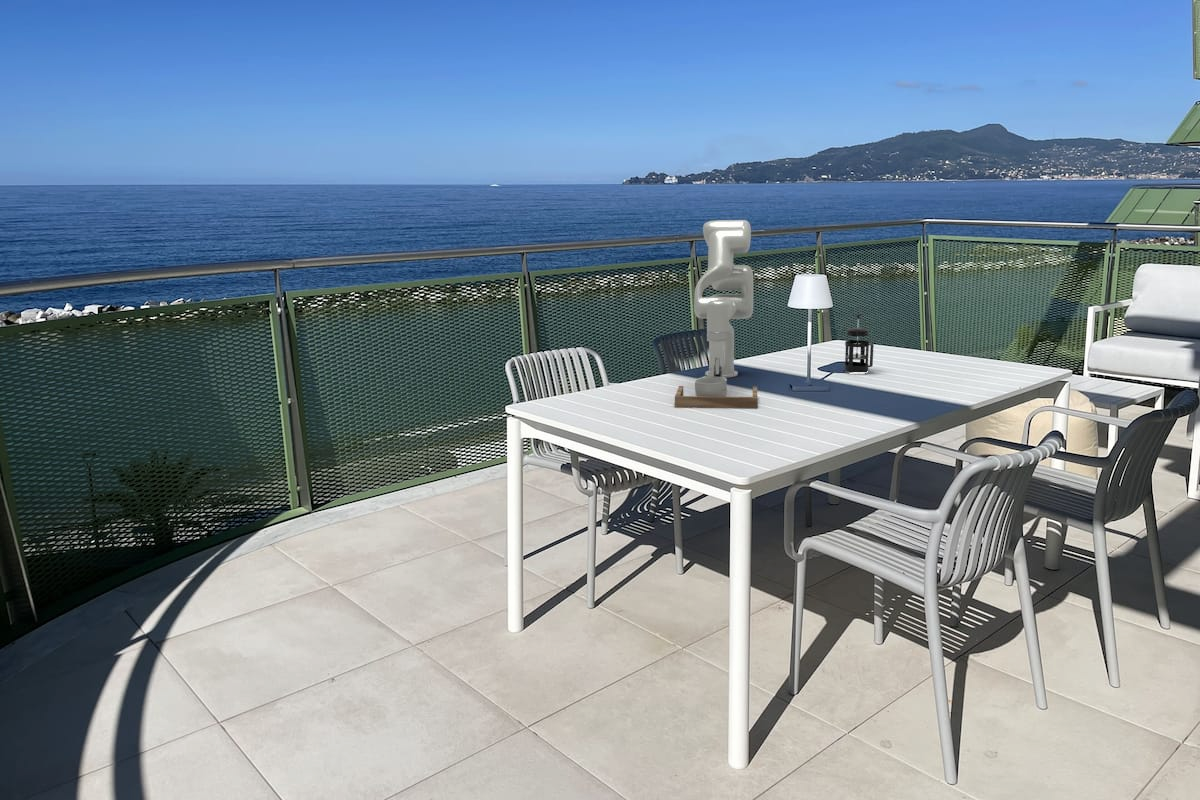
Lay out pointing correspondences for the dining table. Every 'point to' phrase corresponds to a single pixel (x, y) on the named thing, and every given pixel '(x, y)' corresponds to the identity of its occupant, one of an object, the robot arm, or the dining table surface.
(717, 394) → the teacup
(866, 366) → the french press
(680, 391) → the walnut bay
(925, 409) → the dining table surface
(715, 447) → the dining table surface
